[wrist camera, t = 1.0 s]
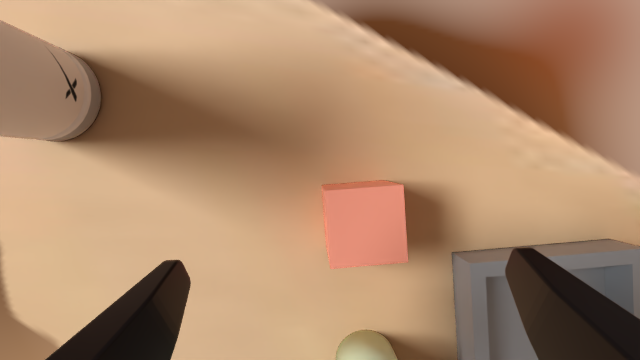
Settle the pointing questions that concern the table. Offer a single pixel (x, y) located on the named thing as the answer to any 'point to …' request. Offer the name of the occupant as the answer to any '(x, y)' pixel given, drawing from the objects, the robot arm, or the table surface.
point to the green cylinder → (365, 347)
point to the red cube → (365, 223)
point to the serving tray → (498, 303)
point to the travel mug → (43, 89)
